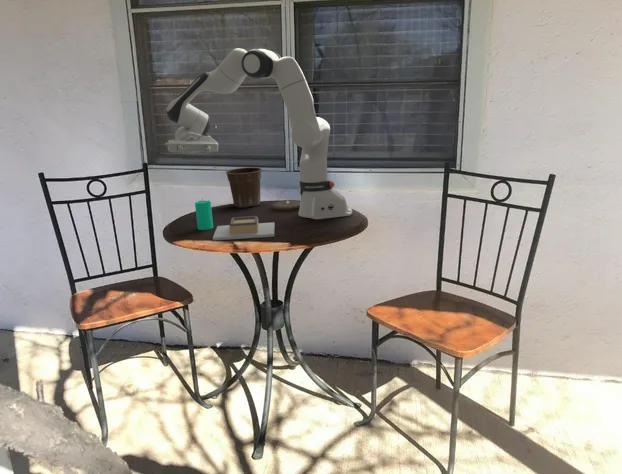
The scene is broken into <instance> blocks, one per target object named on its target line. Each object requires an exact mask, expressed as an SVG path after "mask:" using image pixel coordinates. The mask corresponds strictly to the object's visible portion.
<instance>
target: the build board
mask: <svg viewBox="0 0 622 474" xmlns="http://www.w3.org/2000/svg"><path fill="white" fill-rule="evenodd" d="M275 226H276V225H275V221H274V222H260V223H259V217H258V216H257V215H251V216H249V215H248V216H237V217H235V216H234V217H231V219H230V223H229V224H227V225H217V226H216V228H215V231H214V234H213V236H212V241H225V240H228V241H229V240H242V239H255V238H258V239H259V238H272V237H273V238H275Z"/></svg>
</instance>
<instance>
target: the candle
mask: <svg viewBox="0 0 622 474" xmlns="http://www.w3.org/2000/svg"><path fill="white" fill-rule="evenodd" d="M194 207H195V215H196V224H197V229H198V230H199V231H207V230H211V229H213V228H214V221H213V213H212V212H213V211H212V210H213V209H212V203H211V201H210V200H203V198H202V199H201V200H197V201H195V202H194Z"/></svg>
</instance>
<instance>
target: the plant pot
mask: <svg viewBox="0 0 622 474" xmlns="http://www.w3.org/2000/svg"><path fill="white" fill-rule="evenodd" d="M262 171H263V169H262V168H261V167H241V168H240V167H239V168H233V169H228V170H226V171H225V174H226V177H227V180H228V182H229V187H230V192H231V197H232V202H233V206H234V207H235V208H241V209H245V208H250V207H257V206H259V205H261V179H262Z"/></svg>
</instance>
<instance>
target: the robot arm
mask: <svg viewBox="0 0 622 474" xmlns="http://www.w3.org/2000/svg"><path fill="white" fill-rule="evenodd" d="M247 77H250V78H252V79H260V80H267V79H273V80H274V81H275V83H276V85H277V87H278V90H279V92H280V95H281V98H282V99H283V102H284V106H285V108H286V110H287V113H288V119H289V123H290V128H291V139H292V141H293V143H294V144H295V145H296V146H297V147H300V148H301V152H300V153H301V154H300V158H299V178H300V180H299V183H298V188H299V195H300V200H299V201H300V204H299V210H298V216H299V217H302V218H309V219H312V220H323V219H332V218H339V217H342V218H343V217H350V216H351V215H353V209H352V208H351V207H350V206H348V204H347V203H348V202H347V200H346V198H345V197H344V195H342V194H341V193H340V192H338V191H337V190H335V189H334V187H335V183H334V181H332V180H331V179H328V152H329V151H328V150H329V139H330V133H331V127H330V123H328V121H327V120H325V119H324V118H322V117H319V116H317V115H316V110H315V107H314V98H313V95H312V93H311V90H310V87H309V85H308V81H307V79H306V77H305V75H304V73H303V71H302V69H301V67H300V65H299V64H298V62H297V61H296V59H295V58H294V57H292V56H283V57H281V55H280V54H279V53H277V52H276V51H274V50H267V49H266V48H265V49H264V48H253V49H249V50H246V49H244V48H242V47H241V48H239V47H237V48H233V50H231V51H230V52H229V53H228V54H227V55H226V56H225V58H224V59H223V60H222V61H221V63H220V64H219V65H218V66H217V67H216V68H215V69H213V70H211V71H204V72H203V73H201V74H200V75H198V77H197V78H195V79H194V80H193V81H192V82H191V83H190V84H189V85H188V86H186V88H185V89H184V90H183V91H182V92H181V93H180V94H179V95H177V96H176V97H174V99H173V100H171V101H170V103H169V104H168V106H167V107H166V111H165V112H166V116H167V117H168V120H169V121H172V122H173V123H176V124H178V125H180V127H178V128H177V129H176V130H175V134H174V138H175V139H168V140H167V142H165V143H164V145H165V146H166V147H167V151H168V152H170V153H182V154H187V155H195V154H197V153H209V154H210V153H218V152H219V143H218V141H217V140H215V139H214V138H212V136H211V135H208V132H209V129H210V127H211V119H210V115H209V114H207V113H206V112H204V111H203V110H201V109H200V108H197V107H195V106H194V105H192V104H191V103H190V102H191V101H192V100H193V99H195V97H196V96H197V95H198V94H199V93H201V92H213V93H217V94H219V95H220V94H221V95H229V94H232V93H234V92H235V91H236V90H238V88H239V87H240V86H241V85H242V83H243V82H244V81H245V80H246V78H247Z"/></svg>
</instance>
